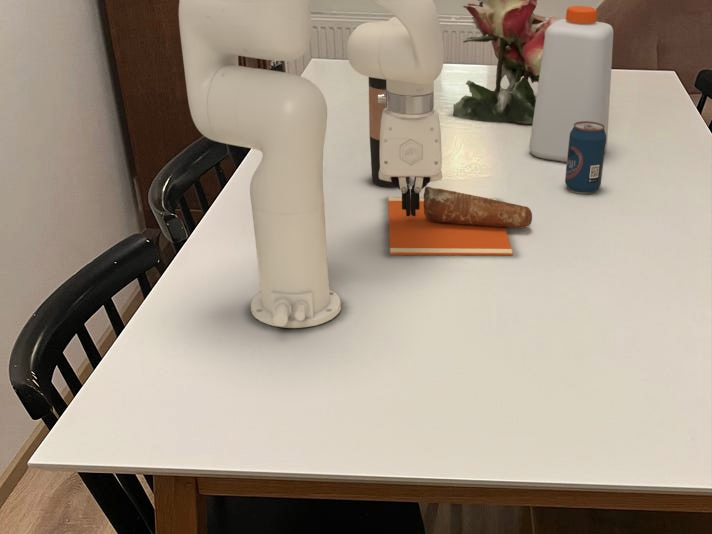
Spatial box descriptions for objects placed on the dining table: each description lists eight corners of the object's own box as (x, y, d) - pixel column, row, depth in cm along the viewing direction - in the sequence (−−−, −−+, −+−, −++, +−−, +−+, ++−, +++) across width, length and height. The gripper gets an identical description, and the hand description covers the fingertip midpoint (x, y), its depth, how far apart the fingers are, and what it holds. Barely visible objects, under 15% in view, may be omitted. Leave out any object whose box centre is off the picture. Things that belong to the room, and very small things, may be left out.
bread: (425, 213, 164) (426, 182, 161) (532, 223, 162) (535, 192, 159) (419, 225, 159) (419, 193, 156) (529, 236, 157) (531, 204, 154)
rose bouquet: (572, 129, 213) (586, -17, 195) (447, 118, 216) (450, -27, 198) (579, 102, 234) (593, -33, 216) (466, 92, 237) (470, -42, 219)
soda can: (557, 185, 181) (563, 122, 174) (587, 181, 183) (594, 118, 176) (576, 197, 176) (583, 132, 169) (607, 192, 178) (615, 128, 171)
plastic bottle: (523, 157, 194) (534, 10, 178) (543, 139, 206) (554, -1, 189) (594, 168, 190) (611, 18, 174) (609, 148, 202) (627, 6, 186)
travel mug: (362, 182, 177) (359, 71, 165) (384, 172, 182) (382, 63, 171) (397, 190, 174) (395, 77, 162) (417, 179, 180) (418, 69, 168)
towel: (512, 255, 151) (512, 253, 151) (390, 254, 149) (390, 252, 149) (496, 200, 172) (496, 198, 172) (388, 199, 170) (388, 197, 170)
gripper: (363, 108, 145) (367, 221, 156) (458, 109, 146) (455, 221, 157) (363, 95, 151) (366, 205, 162) (454, 96, 152) (452, 205, 163)
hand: (410, 213), depth 159 cm, fingers closed
